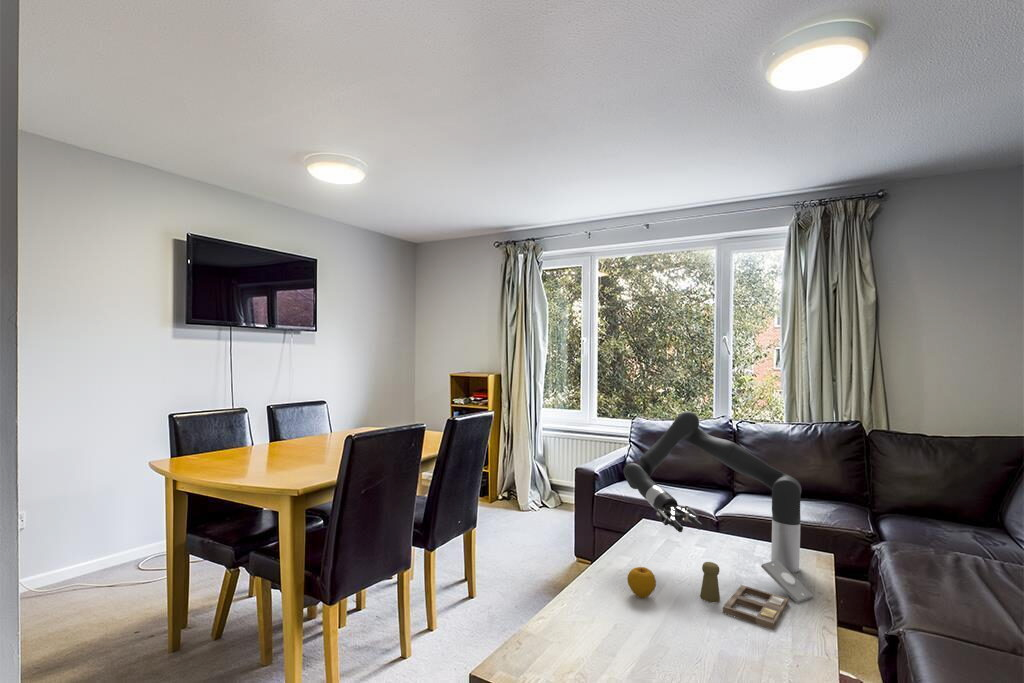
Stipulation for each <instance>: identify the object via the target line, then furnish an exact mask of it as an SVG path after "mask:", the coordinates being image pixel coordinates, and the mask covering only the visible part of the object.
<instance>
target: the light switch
mask: <svg viewBox="0 0 1024 683" xmlns="http://www.w3.org/2000/svg"><path fill="white" fill-rule="evenodd" d="M760 565H761V566H760V567H761V568H762V570H764V572H766V573H767V575H769V577H770V578H771V579H773V580H774V582H776V584H777V585H778V586H779V587H780V588H781V589H782V590H783V591H785V592H784V593H786V594H787V595H788V596H789V597H790V598H791V599H792V600H793V601H794V603H796V604H799V603H802V602H805V601H807V599H808V600H810V599H812V598H813V597H814V595H813V594H812V593H811V592H810V591H809V589H807V588H806V587H805V586H804V585H803V584H802V583H801V582H800V580H798V578H796V577H795V576H794V575H793V573H790V572H789V571H788V570H787V569H786V568H785V567H784V566H783V565H782V564H781V563H780V562H779V561H778V560H775V561H772V562H771V561H769V562H766V563H762V564H760ZM804 600H805V601H804Z"/></svg>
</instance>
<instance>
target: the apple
mask: <svg viewBox="0 0 1024 683" xmlns="http://www.w3.org/2000/svg"><path fill="white" fill-rule="evenodd" d="M626 579H627V585H628V586H629V588H630V590H631V591H632V593H633V595H635V596H636V597H638V599H642V598H643V599H646V598H648V597H649V596H650V595H651V594H652V593H653V592H654V590H655V588H656V586H657V580H656V577H655V574H654V573H653V572H652V570H650V569H649V568H648V567H645V566H637V567H634V568H633V567H632V569H631V570H630V571H629V572H628V574H627V578H626Z"/></svg>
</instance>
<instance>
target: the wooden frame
mask: <svg viewBox="0 0 1024 683" xmlns="http://www.w3.org/2000/svg"><path fill="white" fill-rule="evenodd" d="M746 594H747V595H751V596H754V597H757V598H760V599H764V600H767V601H766V602H761V601H758V600H755V599H751V598H747V597H746V596H745V595H746ZM736 604H737V605H738V606H742V607H744V608H748V609H751V610H754V611H758V614H757V615H755V614H753V613H749V612H746V611H743V610H739V609H736V606H737V605H736ZM788 605H789V598H788V597H783V596H781V595H777V594H773V593H770V592H767V591H763V590H761V589H757V588H754V587H751V586H746V585H743V584H741V585H740V586H739V587H738V588H737V589H736V590H735V592H734V593H733V594H732V595H731V596H730V598H729V599H728V600H727V601H726V603H724V604H723V606H722V614H725V613H726V614H725V615H728V614H729V615H728V616H731V615H732V616H731V617H734V616H735V618H738V619H740V620H743V621H746V622H749V623H752V624H755V625H758V626H761V627H764V628H768V629H771V630H774V629H775V628H776V626H777V624H778V623H779V621H780V619H781V618H780V617H782V616H783V614H784V613H783V612H785V611H786V610H787V608H788ZM786 607H787V608H786Z"/></svg>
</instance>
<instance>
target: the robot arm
mask: <svg viewBox="0 0 1024 683" xmlns="http://www.w3.org/2000/svg"><path fill="white" fill-rule="evenodd" d="M699 426H700V419H699V417H698V415H696V414H695V413H694V412H692V411H682V412H681V413H679V414H677V416H676V418H675V419H674V421H672V424H671V425H670V426H669V428H668V429H667V430H666V431H665V433H663V435H661V436H660V437H659V439H657V440H656V442H655V443H654V444H653V445H652V446H650V447H649V449H647V451H646V452H644V453H643V454H642V455H641V457H640V458H639V463H640V464H637V463H634V462H631V463H627V464H625V466H624V468H623V475H624V478H625V479H626V482H627V484H628V485H629V487H630V488H631V489H633V490H637V491H638V493H640V495H641V496H642V497H643V498H644V499H645V500H646V501H647V502H648V504H650V506H651V507H652V508H653V509H654V510H655V511H656V514H655V516H656V517H657V518H658V519H659V521H660V522H662V524H664V526H668V525H669V527H673V528H674V529H675V530H676V531H677V532H678V533H682V532H683V531H684V526H682V524H681V523H679V522H678V520H679V521H683V522H689V523H691V524H692V525H693V526H694V527H695V528H696V529H697V530H702V528H703V523H702V522H701V521H699V519H698V518H699V513H696V512H695V511H694V510H693V509H692V508H690V506H688V505H685V506H684V507H681V506H680V505H679V503H678V502H677V500H676V499H675V498H674V497H673V496H672V495H671V494H670V493H669V492H668V491H667V490H666V489H664V488H663V487H661V486H660V485H658V484H657V483H656V481H654V480H653V479H652V478H651V477H652V475H653V473H654V471H655V470H656V469H657V468H658V467H659V466H660V465H661V464H662V463H663V462H664V461H665V460H666V459H667V458H668V456H669V455H670V453H672V451H673V449H675V447H676V446H677V444H678V443H679V442H680V441H681V440H683V441H685V442H687V443H689V444H691V445H693V446H694V447H696V448H699V449H701V451H703V452H705V453H707V455H708V454H709V455H710V456H711V457H713V458H715V459H716V460H718V461H719V462H720V463H722V464H723V465H725V466H727V467H728V468H729V469H731V470H733V471H735V472H737V473H739V474H741V475H743V476H745V477H749V478H752V479H754V480H756V481H759V482H760V483H762V484H763V486H764V485H765V487H767V488H769V489H770V490H771V514H772V515H771V516H772V517H771V518H772V519H771V553H770V554H771V557H770V558H771V559H770V560H771V561H770V562H772V561H775V560H778V561H779V562H780V563H781V564H782V565H783V566H784V567H785V568H786V569H787V570H788V571H789V572H790V573H791V574H794V573H795V574H796V573H799V572H800V561H801V560H800V558H801V557H800V556H801V555H800V554H801V553H800V549H801V520H802V519H801V498H802V497H801V495H802V486H801V483H800V482H799V480H797V479H796V478H795V477H793V476H791V475H790V474H787V473H784V472H783V471H780V470H778V469H776V468H775V467H772V466H771V465H769V464H767V463H766V462H765V461H763V460H762V459H760V458H759V457H758V456H756V455H755V454H753V453H751V452H750V451H748V450H747V449H745V448H744V447H742V446H740V445H739V444H737V443H736V442H733V441H731V440H728V439H724V438H719V437H717V436H712V435H710V434H709V433H707V432H706V431H704V430H703V429H701V428H700V427H699ZM684 516H685V517H684Z"/></svg>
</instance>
